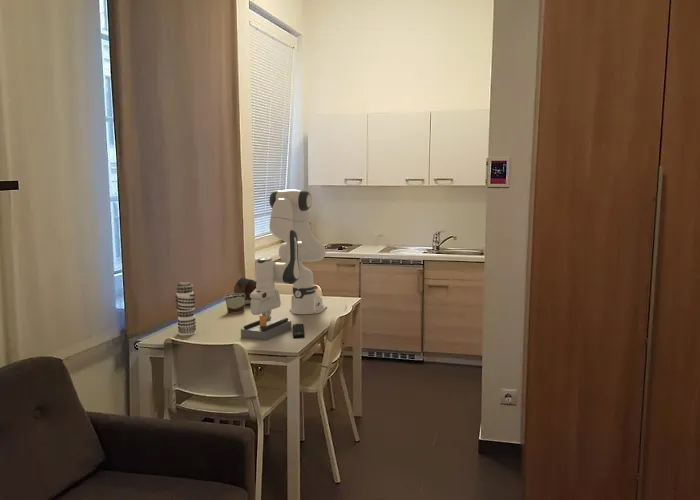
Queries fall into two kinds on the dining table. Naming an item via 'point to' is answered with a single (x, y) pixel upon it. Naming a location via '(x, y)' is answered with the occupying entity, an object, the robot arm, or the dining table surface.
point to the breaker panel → (258, 334)
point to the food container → (235, 302)
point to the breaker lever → (262, 320)
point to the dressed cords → (266, 326)
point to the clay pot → (245, 288)
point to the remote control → (298, 331)
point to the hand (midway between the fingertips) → (266, 320)
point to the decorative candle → (185, 308)
